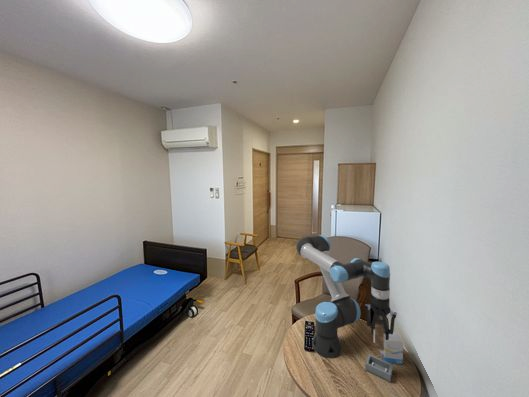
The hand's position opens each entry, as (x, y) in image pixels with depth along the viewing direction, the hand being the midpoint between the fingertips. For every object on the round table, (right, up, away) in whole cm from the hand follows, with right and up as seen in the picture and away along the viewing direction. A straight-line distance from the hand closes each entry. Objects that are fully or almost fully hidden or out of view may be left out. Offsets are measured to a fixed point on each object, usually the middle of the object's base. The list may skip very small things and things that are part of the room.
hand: (379, 343), depth 100 cm
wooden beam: (0, -2, 0) cm, 2 cm away
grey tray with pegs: (0, -15, +1) cm, 15 cm away
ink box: (+11, -14, +9) cm, 20 cm away
